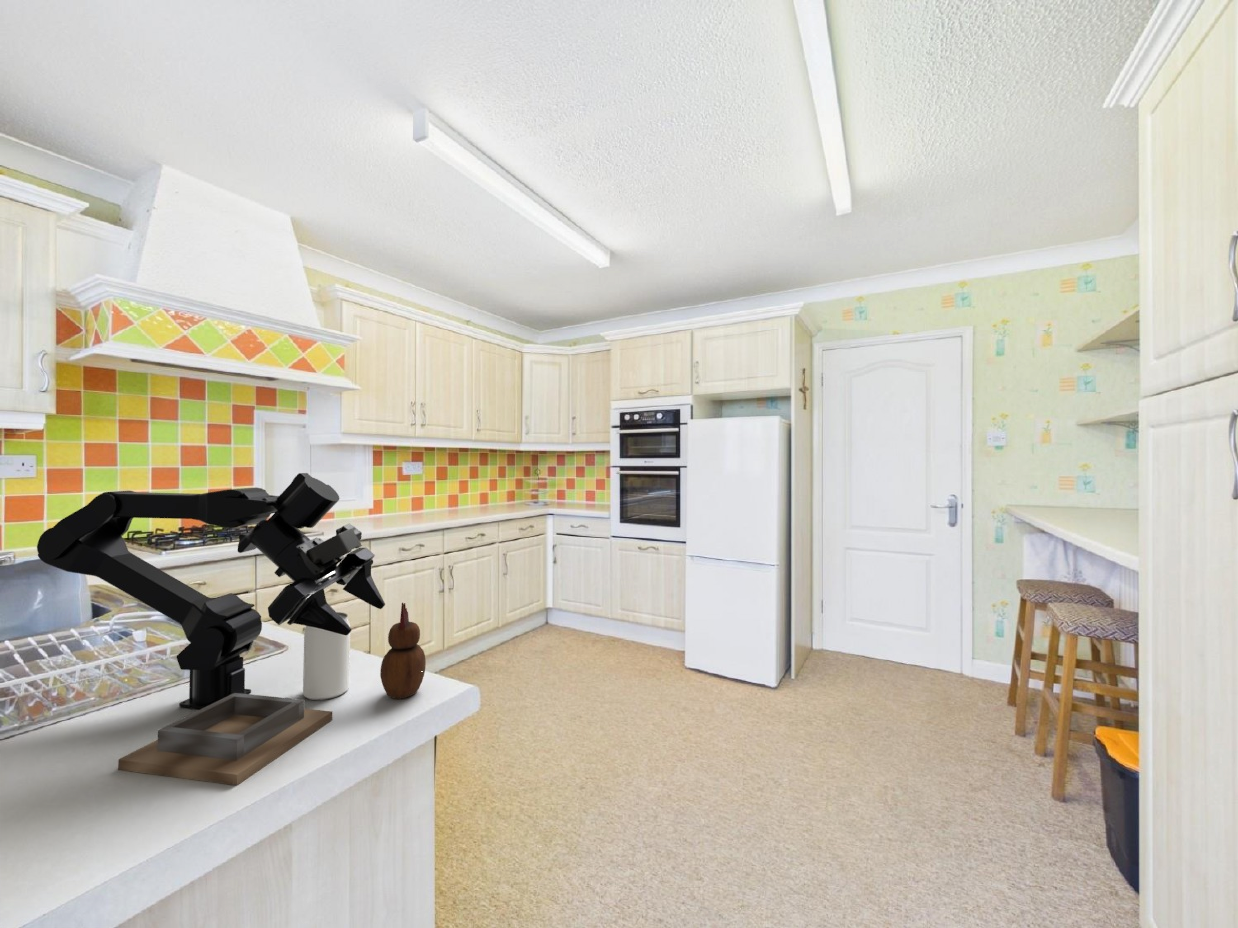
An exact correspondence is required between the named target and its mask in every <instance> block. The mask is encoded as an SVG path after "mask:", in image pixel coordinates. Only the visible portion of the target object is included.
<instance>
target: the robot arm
mask: <svg viewBox="0 0 1238 928" xmlns="http://www.w3.org/2000/svg"><path fill="white" fill-rule="evenodd" d="M339 500H340V495H339V494H338V492H337V491H336V490H335V489H334V488H333V487H332V486H331V485H329V484H326V483H324V482H323V481H321V480H320V479H318V478H315V477H313V476H311V475H310V474H309V473H308V472H299V473H298V474H297V475H295V477H294V478H293V479H292V481H291V482H290V484H289V485H288V486H287V487H286V488H285V489H284V490H283V491H282V492H281V493H280V495H272V494H271V495H270V494H269V493H268V492H267V490H265V489H263V488H262V487H244V488H243V487H242V488H234V489H233V488H231V489H223V490H217V491H215V490H214V491H210V492H205V493H183V492H182V493H181V492H180V493H178V492H144V491H143V492H140V491H139V492H138V491H134V490H119V491H117V490H115V491H105V492H102V493H100V494H98V495H96V496H95V497H94V498H93V499H92V500H91V501H90V502H89V503H87V504H86V505H84V506H83V507H81V508H80V509H77V510H76V511H74V512H72V513H71V514H69V515H67V516H66V517H64V518H62V519H60V520H59V521H58V522H56V524H55V525H54V526H53V527H49V528H47V529H46V530H45V531H43V533H42V534H41V535H40V536H39V539H38V541H37V545H36V551H37V557H38V558H39V559H40V561H41V562H42V563H44V564H46V565H48V566H50V567H53V568H56V569H59V570H62V571H64V572H68V573H74V574H80V575H87V576H92V577H97V578H99V579H101V580H102V581H104V582H106V583H107V584H109V585H111V586H113V587H115V588H117V589H118V590H120V591H122V592H123V593H125V594H127V595H129V596H131V597H132V598H134V599H136V600H137V601H139V602H140V603H143V604H145V605H147V606H148V607H150V608H152V610H155V611H156V612H159V613H160V614H161V615H163V616H165V617H167V618H169V619H171V620H172V621H174V622H175V623H178V624H179V625H180V627H182V630H183V633H184V635H185V637H186V640H187V641H188V642H189V644H188V645H186V647H185V648H184V649H182V650H181V651H180V652H179V653H177V655H176V661H177V663H178V666H179V669H180V670H183V671H184V670H186V671H189V689H188V690H189V693H188V695H189V696H188V697H189V698H186V699H185V700H182V701H180V702H179V705H178V706H179V707H181V708H189V709H190V708H191V709H197V710H198V709H199V710H200V709H202V708H204V707H207V706H209V705H211V704H213V703H215V702H217V701H219V700H221V699H223V698H225V697H227V696H229V695H231V694H233V693H242V694H251V693H252V689H251V688H249V689H248V688H245V683H246V673H245V672H246V668H245V667H244V656H241V654H244V653H245V652H249V651H251V648H252V646H253V644H254V641H255V640H257V639H258V637H259V636H260V635H261V632H262V629H263V622H262V616H261V614H260V613H259V612H258V611H257V610H256V609H254V607H255V605H256V604H254V603H248V602H246V601H244V600H243V599H242V598H240V597H239V596H238V595H236V594H234V593H232V592H231V593H226V594H223V595H222V596H219V597H216V598H213V597H209V596H206V594H203V593H202V592H200V591H198V590H197V589H195V588H193V587H191V586H190V585H188V584H186V583H184V582H182V581H181V580H179V579H177V578H175V577H174V576H172V575H171V574H169V573H166V572H165V571H163V570H161V569H160V568H158V567H156V566H154V565H153V564H151V563H149V562H147V561H145V560H144V559H142V558H140V557H139V556H137V555H135V554H134V553H132V552H131V551H129V549H128V546H127V543H126V541H125V539H124V537H123V536H124V535H125V534H126V533H127V532H128V531H129V528H130V526H131V524H132V521H133V519H135V518H137V519H142V518H143V519H173V520H174V519H175V520H176V519H180V520H181V519H182V520H195V521H199V522H202V523H205V524H207V525H211V526H215V527H220V528H225V529H234V528H241V527H246V526H247V527H248V526H252V525H255V526H254V527H253V528H252V529H251V530H250V531H249V532H246V533H241V534H238V540H239V541H238V545H237V552H238V554H242V553H246V552H250V551H253V550H256V549H257V550H258V551H260V552H261V553H262V554H263V555H264V556H265V557H266V558H267V559H269V560H270V561H271V562H272V563H273V564H274V565H275V566H276V567H277V569H276V570H275V571H274V575H276V576H277V577H278V578H281V577H282V576H285V575H286V576H287V577H288V578H289V579H290V580H292V582H291V583H289V584H288V585H286V586H285V587H284V588H283V589H282V590H281V591H280V592H279V594H278V595H277V596H276V597H275V598H274V599H273V601H272V602H271V603H270V605H268V607H267V612H268V613H267V614H268V617H269V618H270V619H271V620H272V621H273V622H275V624H277V626H281V625H282V624H284V623H285V622H286V624H287V625H288V626H291V625H292V624H293V625H295V624H296V625H301V626H305V627H306V626H310V627H315V628H319V629H323V630H327V631H331V632H335V633H338V634H342V635H348V634H349V633H350V634H351V632H352V628H351V626H350V627H349V626H348V624H347V623H346V622H345V621H344V620H343V619H342V618H341V617H340V616H339V615H338V614H337V613H336V612H337V611H336V610H335V609H334V608H332V606H331V605H330V604H329V603H328V602H327V600H326V599H327V598H326V594H325V589H326V588H328V587H330V586H331V585H333V584H335V583H336V584H337V585H339V586H340V585H341V586H344V587H343V588H342V590H343V591H345V592H347V593H348V594H350V595H352V596H354V597H355V598H358V599H359V600H361V601H363V602H365V603H367V604H368V605H370V606H372V607H374V608H377V609H379V610H382V609H383V608H384V607H385V606H386V603H385V601H384V599H383V597H382V595H381V593H380V591H379V589H378V587H377V585H376V583H375V582H374V578H373V576H372V566H373V565H374V560H373V559H374V558H375V556H376V555H375V554H374V552H372V551H371V550H370V549H369V548H368V547H362V546H363V545H362V543H361V540H362V531H361V530H359V529H358V528H357V527H355V526H354V525H353V524H351V523H347V524H345V525H343V526H341V527H339V528H337V529H336V530H335V535H334V536H332V537H330V538H328V539H326V540H323V539H322V538H320V537H315V538H312V539H310V538H309V537H308V536H307V535H306V534H305V533H304V532H303V531H302V530H301V529H304V528H307V529H313V528H314V527H315V526H316V525H318V523H319V522H320V521H321V520H322V519H323V518H324V517H325V516H326V515H327V513H328V512H329V511H331V509H333V507H334V506H335V505H336V504H337V503H338V502H339Z"/></svg>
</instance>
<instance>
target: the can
mask: <svg viewBox="0 0 1238 928" xmlns="http://www.w3.org/2000/svg"><path fill="white" fill-rule="evenodd" d="M335 612H336V613H337V614H338V615H339V616H340V617H341V618H342V619H343V620H344V621H345V622H346V623H347V624H348V626H349V627H350V628H351V623H350V621H349V620H348V617H349V615H348V614H347V613H345V612H341V611H340V612H338V611H335ZM303 636H304V637H303V669H302V670H303V676H302V677H303V679H302V681H303V685H302V690H303V691H302V694H303V695H302V696H303V697H305V698H306V699H307V700H310V701H325V700H326V701H327V700H331V699H335V698H338V697H340V696H342V695H344V694H345V693H346V692H347V691H348V690H349V688H350V667H351V666H350V664H351V663H350V661H351V657H350V656H351V632H350V633H349V634H348V635H342V634H338V633H335V632H331V631H327V630H323V629H319V628H315V627H310V626H305V627H304V634H303Z"/></svg>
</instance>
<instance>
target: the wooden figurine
mask: <svg viewBox="0 0 1238 928" xmlns="http://www.w3.org/2000/svg"><path fill="white" fill-rule="evenodd" d="M400 609H401V610H400V618H399V620H400V621H399V622H397V623H395V624H393V625H392V626H391V627H390V629H389V632H388V634H387V635H388V636H387V639H388V640H387V641H388V644H389V646H390V649H389V650H388V651H387V652H386V654H385V655H384V656H383V659H382V661H381V663H380V664H381V665H380V674H379V676H380V680H381V683H382V687H383V690H384V691H385V693H386V695H387V696H388V697H390V698H392V699H397V700H398V699H405V698H408V697H411V696H412V695H414V694H416V693H417V692H418V691H419V690H420V687H421V684H422V683H423V680H424V677H425V673H426V672H425V671H426V663H427V662H426V655H425V651H424V649H423V648H422V646H421V645H420V644H418V643H419V642H420V637H421V630H420V627H419V625H418V624H417V623H416V622H413V621H409V618H410V617H409V611H408V608H407V606H406V603H405V602H401V608H400ZM421 671H423V672H421Z"/></svg>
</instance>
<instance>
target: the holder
mask: <svg viewBox="0 0 1238 928" xmlns="http://www.w3.org/2000/svg"><path fill="white" fill-rule="evenodd" d="M331 721H333V711H331V710H321V709H313V708H311V709H310V708H305V699H299V698H289V697H279V696H269V695H260V694H251V693H250V694H242V693H233V694H231V695H229V696H227V697H225V698H223V699H221V700H219V701H217V702H215V703H213V704H211V705H209V706H207V707H204V708H202V709H199V710H198V709H197V710H195V711H194V712H191V713H190V714H188V715H187V716H185V717H181V718H180V719H178V720H176V721H173V722H172V723H169V724H168V725H166V726H164V727H161V728H159V729H157V739H156V740H154V741H152V742H150V743H148V744H146V745H144V746H142V747H140V748H138V749H136V750H135V751H134V750H133V751H132V752H130V753H128V754H126V755H124V756H123V757H120V758H118V761H117V765H118V766H117V770H118V771H124V772H125V771H127V772H135V773H141V774H142V773H143V774H149V775H157V776H163V777H164V776H165V777H172V778H178V779H187V780H195V781H202V782H209V783H216V784H217V783H218V784H224V785H232V786H239V785H240V784H241V783H242V782H244V781H245V780H247V779H248V778H250V777H251V776H253V775H255V774H256V773H257V772H258V771H260V770H262V769H263V768H264V767H266V766H268V765H269V764H270V763H272V762H273V761H274V760H277V758H279V757H280V756H282V755H284V754H285V753H286V752H288V751H289V750H291V749H292V748H293V747H295V746H296V745H298V744H300V743H301V742H302V741H304V740H305V739H307V738H309V737H310V736H311V735H312V734H314V733H315V732H317V731H318V730H319V729H322V728H323V727H324V726H326V725H327V724H329V723H330V722H331Z"/></svg>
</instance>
